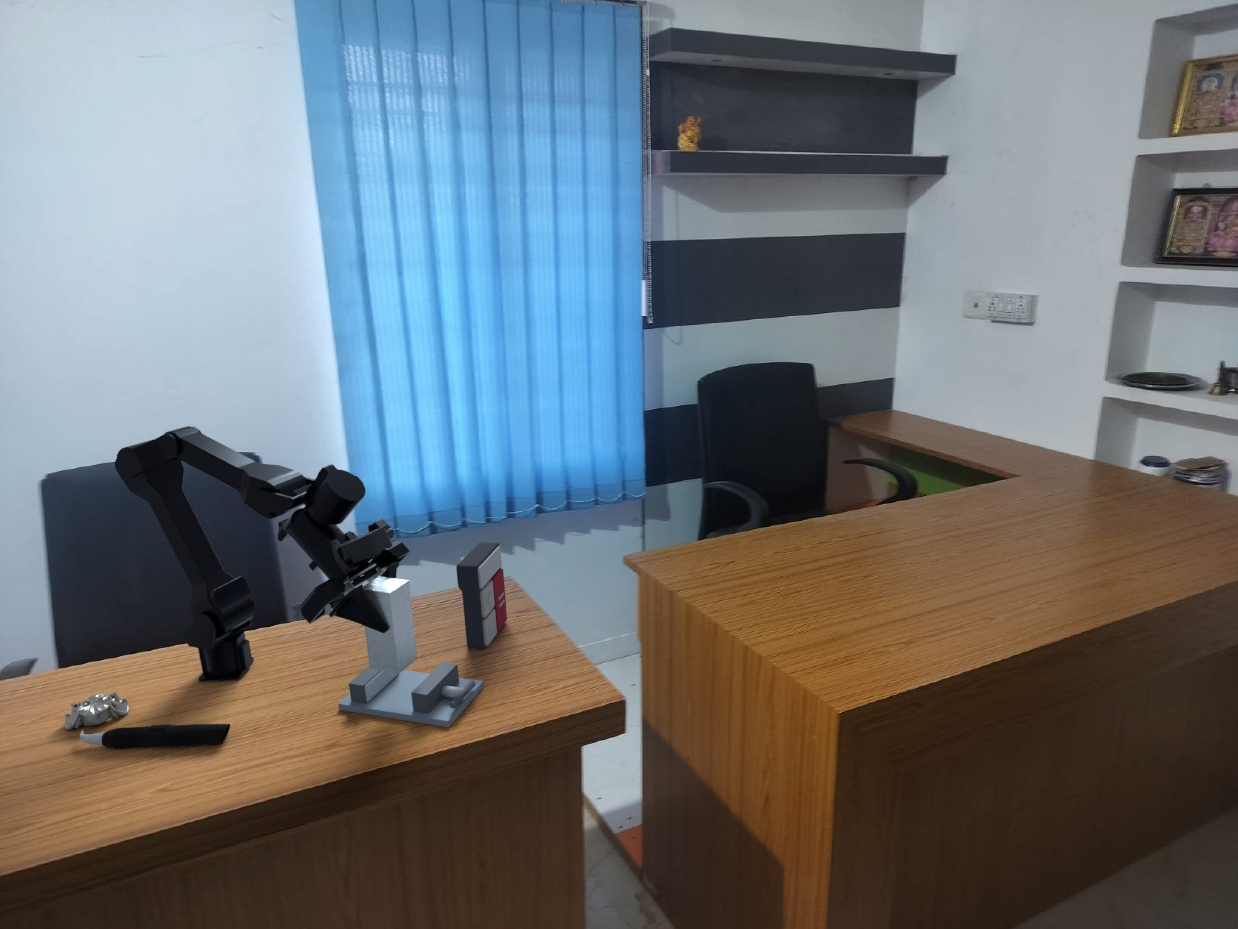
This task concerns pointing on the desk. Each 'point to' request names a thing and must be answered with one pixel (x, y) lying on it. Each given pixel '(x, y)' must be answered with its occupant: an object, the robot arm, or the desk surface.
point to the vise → (412, 694)
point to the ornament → (96, 710)
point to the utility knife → (159, 736)
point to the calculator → (482, 594)
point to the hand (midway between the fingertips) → (396, 623)
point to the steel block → (391, 625)
